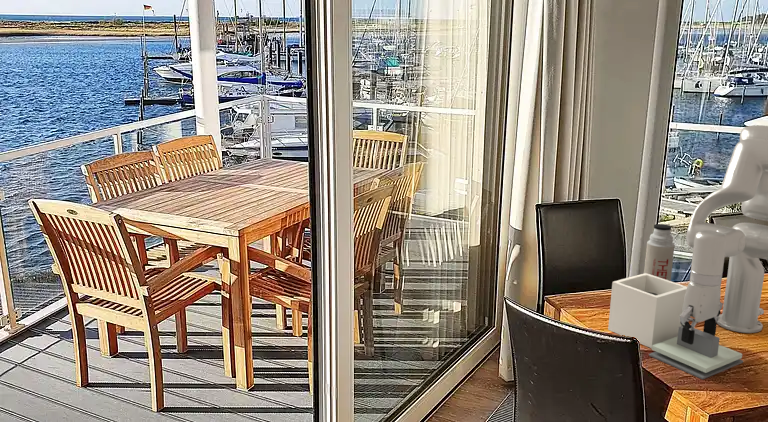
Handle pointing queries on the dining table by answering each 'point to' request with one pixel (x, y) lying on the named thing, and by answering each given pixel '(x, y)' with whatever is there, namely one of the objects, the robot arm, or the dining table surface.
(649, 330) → the storage box
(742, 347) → the dining table surface
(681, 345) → the lid
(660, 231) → the thermos bottle
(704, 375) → the mat
